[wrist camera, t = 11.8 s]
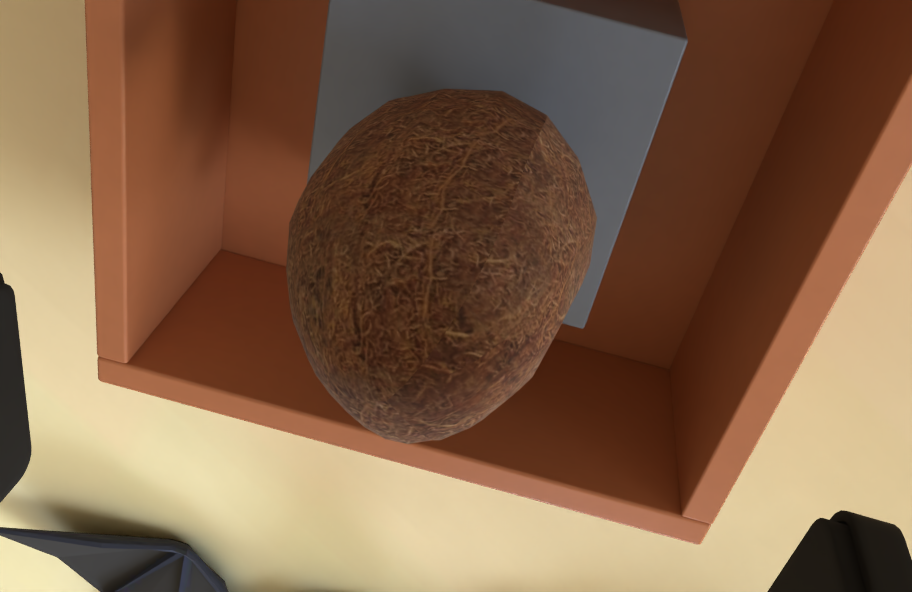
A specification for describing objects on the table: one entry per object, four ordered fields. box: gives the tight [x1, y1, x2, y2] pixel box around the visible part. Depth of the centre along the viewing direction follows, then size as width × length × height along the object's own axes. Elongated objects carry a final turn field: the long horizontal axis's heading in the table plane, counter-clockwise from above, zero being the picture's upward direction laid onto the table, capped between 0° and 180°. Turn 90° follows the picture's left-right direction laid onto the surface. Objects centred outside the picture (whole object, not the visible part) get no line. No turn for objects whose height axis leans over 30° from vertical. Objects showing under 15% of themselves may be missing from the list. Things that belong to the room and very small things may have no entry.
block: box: [307, 0, 688, 329], centre depth 20 cm, size 7×7×4 cm
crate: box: [85, 0, 912, 544], centre depth 20 cm, size 16×16×7 cm
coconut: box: [286, 89, 597, 444], centre depth 15 cm, size 5×5×8 cm
